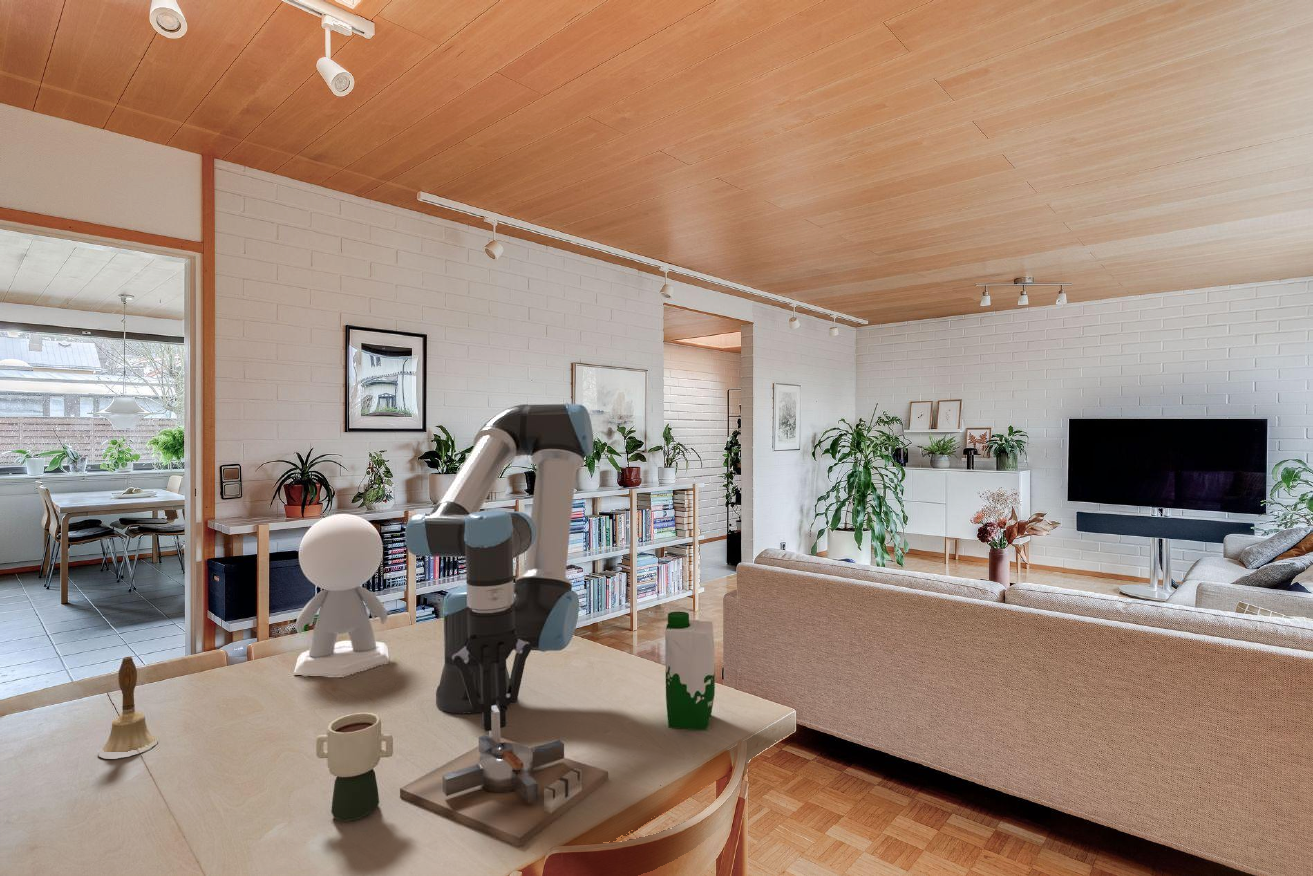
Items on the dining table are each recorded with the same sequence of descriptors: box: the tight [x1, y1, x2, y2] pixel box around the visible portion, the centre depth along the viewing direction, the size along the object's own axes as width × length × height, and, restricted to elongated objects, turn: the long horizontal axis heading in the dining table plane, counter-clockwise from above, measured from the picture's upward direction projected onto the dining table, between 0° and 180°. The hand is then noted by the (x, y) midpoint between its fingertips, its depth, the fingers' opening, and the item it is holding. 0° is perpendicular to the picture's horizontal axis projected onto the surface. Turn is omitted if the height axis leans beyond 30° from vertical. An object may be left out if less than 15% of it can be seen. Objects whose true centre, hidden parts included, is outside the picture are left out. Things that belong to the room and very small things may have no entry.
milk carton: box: [664, 611, 716, 731], centre depth 127 cm, size 9×9×20 cm
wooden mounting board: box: [399, 737, 609, 848], centre depth 104 cm, size 24×20×4 cm
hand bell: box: [102, 656, 157, 752], centre depth 118 cm, size 8×8×16 cm
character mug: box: [315, 712, 394, 821], centre depth 97 cm, size 11×7×13 cm, turn 91°
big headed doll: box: [293, 513, 390, 678], centre depth 161 cm, size 20×23×35 cm
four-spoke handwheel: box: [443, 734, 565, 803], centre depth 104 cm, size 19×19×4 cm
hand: (495, 747), depth 112 cm, fingers closed
